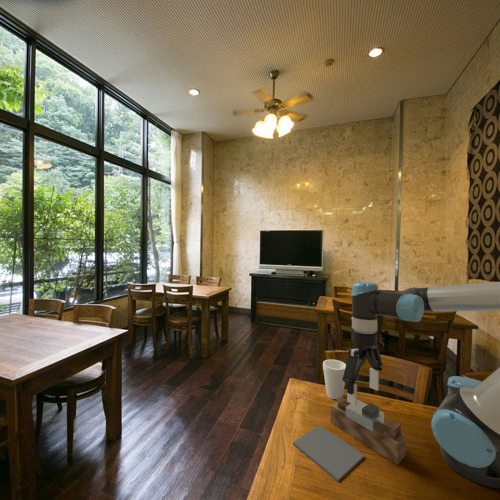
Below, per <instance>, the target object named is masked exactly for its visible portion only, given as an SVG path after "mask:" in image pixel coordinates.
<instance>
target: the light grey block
mask: <svg viewBox="0 0 500 500" xmlns="http://www.w3.org/2000/svg"><path fill="white" fill-rule="evenodd" d="M347 405H348V406H347V407H346V417H348V418H350V419H352V420H353V421H355V422H357V423H359V424H360V425H362V426H364V427H366V428H367V429H369V430H371V431H372V432H373V431H374V430H376V429H377V428H378V427H379V426H380V425H381V424H385V412H383V411H381V410H380V407H379V406H377V405H375V404H374V403H371V402H369V403H368V404H367V403H365V402H363V401H361V400H359V399H357V405H356V406H355V405H353V404H351V403H349V404H347Z"/></svg>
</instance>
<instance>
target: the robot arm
mask: <svg viewBox="0 0 500 500" xmlns="http://www.w3.org/2000/svg"><path fill="white" fill-rule="evenodd" d="M485 311H486V312H493V311H494V312H495V311H496V312H500V281H492V282H478V283H466V284H453V285H451V284H450V285H441V286H440V285H439V286H429V287H408V288H406V289H404V290H400V291H395V292H394V291H385V290H381V289H379V286H378V284H377V283H375V282H370V281H357V282H354V283H353V284H352V290H351V328H352V329H351V341H352V342H353V343H354V345H355V346H354V348H352V347H351V348H349V349H348V357H347V359H346V363H345V364H346V367H345V371H344V375H343V379H342V380H343V381H344V382H345V384H346V383H347V384H346V387H347V388H346V399H347V403H349V404H353V405H355V406H356V405H357V400H358V399H357V397H358V394H357V393H358V384H357V383H356V382H357V379H358V376H359V374H360V370H361V368H362V366H363V365H364V364H365V362H366V361H367V362H368V363H369V365H370V368H369V388H370V389H373V390H374V391H377V392H378V391H379V387H380V386H379V385H380V384H379V381H380V379H379V378H380V377H379V375H380V372H382V371H383V360H382V358H381V353H380V350H379V342H378V333H377V331H378V316H382V317H388V318H393V319H398V320H402V321H405V322H415V323H417V322H420V321H421V320H422V318H423V316H424V313H433V312H485ZM379 371H380V372H379ZM446 384H447V395H446V397H445V398H444V399H443V401H442V402H441V403H440V405H439V406H438V408H437V410H436V411H434V412H433V415H432V419H431V423H430V425H431V430H432V434H433V436H434V439H435V440H436V441H437V443H438V444H439V445H440V454H441V457H442V458H443V459H444V461H445V462H446V463H447V464H448V465H449V466H450V467H451V468H452V469H453V470H454V471H456V473H458V474H460V475H462V476H463V477H464V478H466V479H468V480H470V481H471V482H474V483H476V484H478V485H481V486H484V487H488V488H492V489H496V490H497V489H498V490H499V489H500V367H498V368H497V369H496V370H494V371H493V372H492V373H491V374H490V375H488V377H486V378H485V379H484V380H483V381H480V380H477V379H474V378H470V377H465V376H461V375H460V376H459V375H458V376H457V375H454V376H449V377H448V380H447V383H446Z"/></svg>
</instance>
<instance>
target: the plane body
mask: <svg viewBox="0 0 500 500" xmlns="http://www.w3.org/2000/svg"><path fill="white" fill-rule="evenodd" d="M348 405H349V404H348V402H347V397H346V398H345V397H344V396H343V397H339V398H338V400H336V401H335V402H334V403H332V404H330V423H331V424H332V425H334V426H335V427H336V428H338V429H340V430H342V431H343V432H345V433H347V434H348V435H350V436H352V437H353V438H354V439H356V440H357V441H360V442H361V443H363V444H364V445H366V446H367V447H369V448H370V449H372V450H374V451H375V452H377V453H378V454H380V455H381V456H383V457H384V458H385V459H388V460H390V461H391V462H392V463H394V464H396V465H399V464H400V463H401V462H402V461H403V460H404V458H405V457H406V435H405V434H403V433H402V431H401V430H402V428H401V427H402V424H401V423H399V422H398V421H396V420H393V419H391V418H389V419H388V420H387V421H386V422H384V423H383V424H381V425H380V426H379V427H378V428H377V429H376V430H374V431H373V432H372V431H371V430H369V429H367V428H366V427H364V426H362V425H360V424H359V423H357V422H355V421H353V420H352V419H350V418H348V417H346V407H347V406H348Z"/></svg>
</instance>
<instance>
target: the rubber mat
mask: <svg viewBox="0 0 500 500" xmlns="http://www.w3.org/2000/svg"><path fill="white" fill-rule="evenodd" d="M292 445H293V446H294V447H296V448H297V449H298V450H299V451H300V452H302V454H304V455H305V456H307V458H309V459H310V460H311V461H312V462H314V463H315V465H317V466H319V467H320V468H321V469H322V470H323V471H325V472H326V473H327V474H328V475H329V476H331V478H333V479H334V480H335V481H337V482H338V481H339V482H340V481H341V480H342V479H343V478H344V477H345V476H347V474H349V473H350V472H351V471H352V470H353V469H354V468H355V467H356V466H357V465H358V464H359V463H360V462H361V461H362V460H364V458H365V454H363V453H362V452H360V451H359V450H357V449H355V448H354V447H352V446H351V445H350V444H349V443H347V442H345V441H344V440H342V439H341V438H339V437H338V436H336V435H335V434H333V433H332V432H331V431H329V430H327V429H326V428H324V427H323V426H321V425H320V424H319V425H317V426H316V427H315V428H312V430H310V431H308V432H306V433H305V434H304V435H302V436H301V437H299V438H297V439H295V440H294V441H293V442H292ZM342 477H343V478H342ZM341 478H342V479H341ZM340 479H341V480H340Z"/></svg>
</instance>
